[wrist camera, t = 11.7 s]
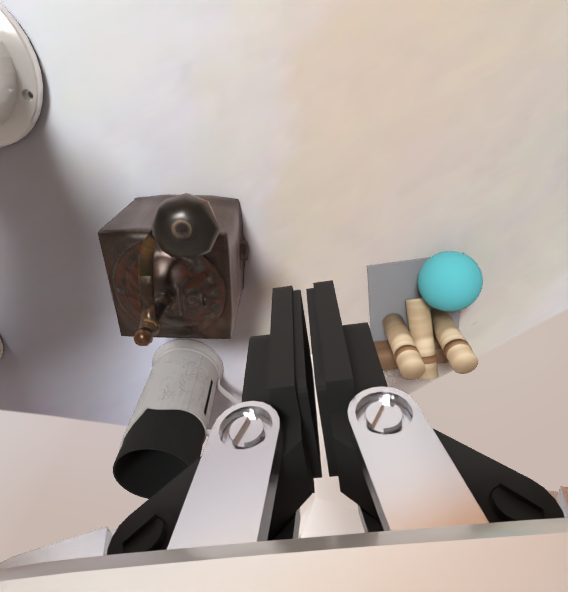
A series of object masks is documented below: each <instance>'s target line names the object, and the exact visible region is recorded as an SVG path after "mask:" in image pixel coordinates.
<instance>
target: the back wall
mask: <svg viewBox="0 0 568 592" xmlns="http://www.w3.org/2000/svg"><path fill="white" fill-rule="evenodd" d="M433 337H434V345H435V353H436V357H437V364H439V363H447V362H449V361H448V360H447V358H446V356H445V354H444V351H443V350H442V348H441V346H440V344H439V342H438V340H437V338H436V337H435V335H434V334H433ZM374 344H375V347H376V351H377V354H378V357H379V360H380V364H381V367H382V370H387V369H395V368H398V365H397V364H396V361H395V358H394V354H393V352H392V349H391V346H390V344H389V341H388V340H383V341H375V342H374Z"/></svg>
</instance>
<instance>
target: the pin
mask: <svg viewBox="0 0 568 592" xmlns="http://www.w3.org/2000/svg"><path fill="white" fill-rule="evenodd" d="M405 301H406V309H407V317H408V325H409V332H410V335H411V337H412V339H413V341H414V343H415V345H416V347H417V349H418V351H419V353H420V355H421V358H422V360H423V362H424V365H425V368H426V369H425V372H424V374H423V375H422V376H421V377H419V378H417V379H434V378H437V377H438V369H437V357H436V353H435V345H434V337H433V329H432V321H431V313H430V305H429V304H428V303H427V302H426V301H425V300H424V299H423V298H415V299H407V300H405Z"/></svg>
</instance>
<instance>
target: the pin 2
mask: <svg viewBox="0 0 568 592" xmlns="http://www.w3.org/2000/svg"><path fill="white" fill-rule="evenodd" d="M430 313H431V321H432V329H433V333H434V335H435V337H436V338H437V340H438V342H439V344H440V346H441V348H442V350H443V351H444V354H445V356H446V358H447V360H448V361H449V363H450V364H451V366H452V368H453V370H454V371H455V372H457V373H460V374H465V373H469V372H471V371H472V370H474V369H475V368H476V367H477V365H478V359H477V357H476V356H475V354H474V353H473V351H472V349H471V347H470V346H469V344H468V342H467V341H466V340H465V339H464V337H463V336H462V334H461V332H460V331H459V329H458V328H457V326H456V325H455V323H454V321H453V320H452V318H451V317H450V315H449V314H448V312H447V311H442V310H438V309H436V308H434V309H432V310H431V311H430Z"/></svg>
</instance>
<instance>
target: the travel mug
mask: <svg viewBox="0 0 568 592" xmlns="http://www.w3.org/2000/svg"><path fill="white" fill-rule="evenodd" d="M2 355H3V344H2V341H1V339H0V359H1V357H2Z"/></svg>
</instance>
